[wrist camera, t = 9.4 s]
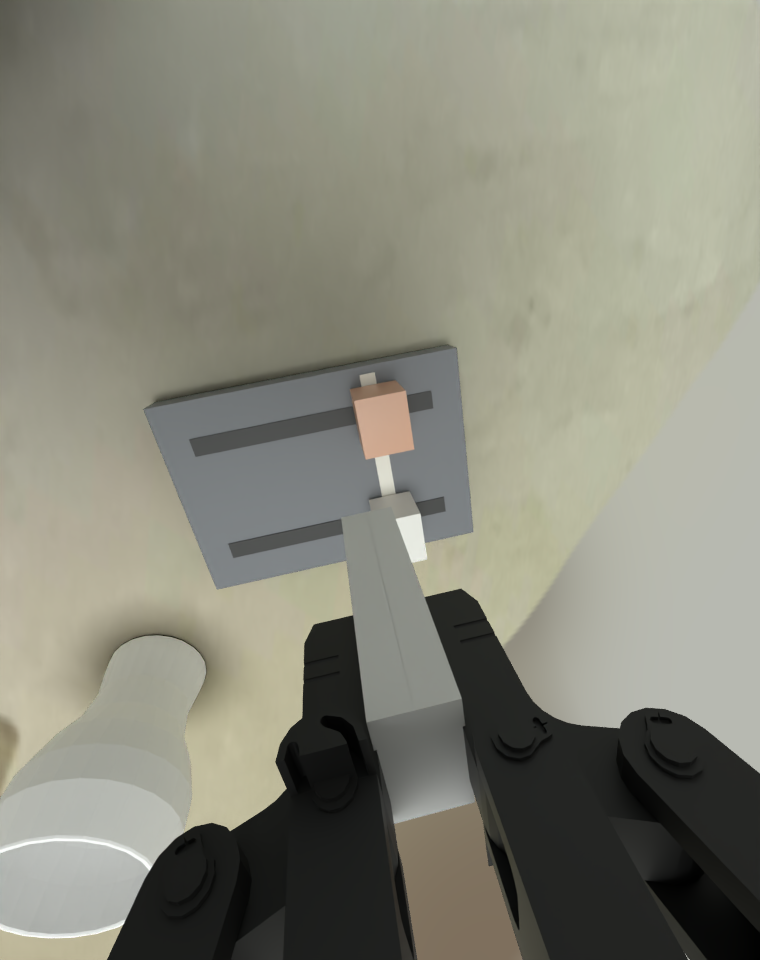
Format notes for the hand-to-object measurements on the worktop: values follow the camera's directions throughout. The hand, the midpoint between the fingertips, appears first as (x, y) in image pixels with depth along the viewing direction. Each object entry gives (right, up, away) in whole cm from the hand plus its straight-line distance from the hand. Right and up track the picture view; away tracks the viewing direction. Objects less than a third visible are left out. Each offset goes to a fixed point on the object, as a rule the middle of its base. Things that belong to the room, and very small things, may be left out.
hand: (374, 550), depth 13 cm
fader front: (0, +7, +15) cm, 16 cm away
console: (-4, +3, +19) cm, 19 cm away
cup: (-19, -14, +24) cm, 33 cm away
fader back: (+1, -1, +18) cm, 18 cm away
